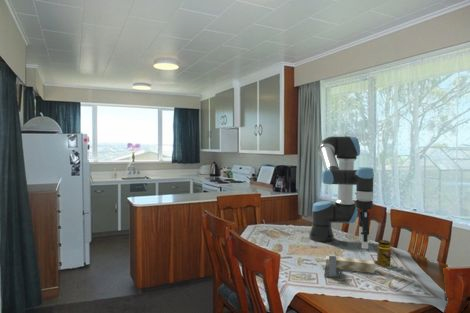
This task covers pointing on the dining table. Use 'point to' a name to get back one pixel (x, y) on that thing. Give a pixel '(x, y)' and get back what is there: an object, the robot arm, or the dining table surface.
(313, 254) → the dining table surface
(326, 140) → the robot arm
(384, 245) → the condiment
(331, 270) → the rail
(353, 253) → the dining table surface
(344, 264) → the bar
